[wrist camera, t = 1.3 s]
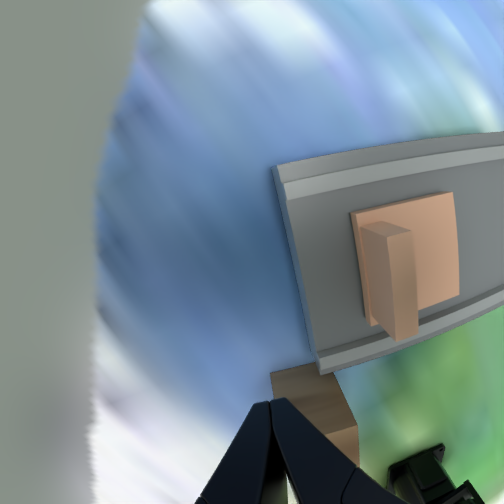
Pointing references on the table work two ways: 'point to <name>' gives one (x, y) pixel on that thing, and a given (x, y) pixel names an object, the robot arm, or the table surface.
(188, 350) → the table surface
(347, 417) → the plug
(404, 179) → the socket block
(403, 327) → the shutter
